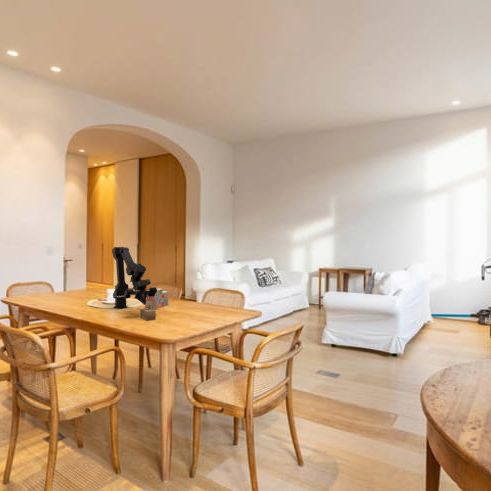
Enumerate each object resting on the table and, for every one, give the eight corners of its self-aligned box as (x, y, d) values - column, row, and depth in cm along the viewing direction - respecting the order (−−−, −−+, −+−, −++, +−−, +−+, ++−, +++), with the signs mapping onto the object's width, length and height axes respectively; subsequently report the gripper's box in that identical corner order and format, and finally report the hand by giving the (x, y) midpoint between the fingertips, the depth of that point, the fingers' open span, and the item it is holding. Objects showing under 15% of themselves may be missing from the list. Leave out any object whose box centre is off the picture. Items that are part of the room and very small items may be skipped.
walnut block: (139, 308, 224) (147, 311, 216) (148, 308, 227) (155, 310, 219) (139, 317, 224) (147, 320, 216) (147, 316, 227) (155, 319, 219)
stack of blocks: (159, 304, 269) (159, 286, 268) (168, 304, 267) (168, 286, 267) (145, 309, 248) (145, 290, 247) (154, 310, 246) (154, 290, 246)
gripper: (126, 275, 222) (133, 297, 214) (156, 273, 234) (164, 294, 225) (120, 287, 228) (127, 309, 220) (150, 285, 240) (158, 305, 232)
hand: (145, 304), depth 224 cm, fingers closed
